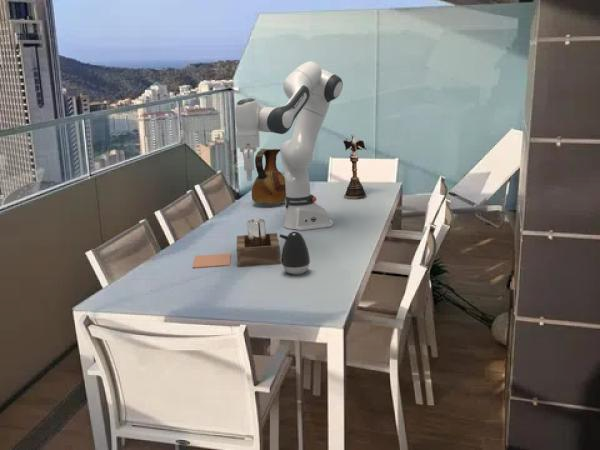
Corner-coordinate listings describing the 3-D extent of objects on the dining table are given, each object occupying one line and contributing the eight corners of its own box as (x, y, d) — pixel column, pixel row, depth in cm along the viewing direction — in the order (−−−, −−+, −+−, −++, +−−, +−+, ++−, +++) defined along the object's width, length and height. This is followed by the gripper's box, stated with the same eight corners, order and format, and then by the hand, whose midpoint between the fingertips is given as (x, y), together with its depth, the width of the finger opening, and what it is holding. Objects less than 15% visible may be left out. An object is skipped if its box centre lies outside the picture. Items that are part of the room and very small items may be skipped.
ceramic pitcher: (296, 201, 333) (293, 146, 325) (275, 210, 316) (271, 151, 309) (266, 198, 343) (263, 144, 335) (244, 206, 327) (240, 150, 319)
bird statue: (346, 192, 348) (344, 130, 339) (369, 193, 345) (367, 130, 335) (339, 199, 333) (337, 134, 324) (363, 199, 329) (361, 133, 320)
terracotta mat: (230, 254, 247) (230, 253, 247) (229, 265, 234) (229, 264, 234) (195, 257, 246) (195, 255, 246) (192, 268, 233) (192, 267, 233)
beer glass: (270, 255, 243) (267, 218, 239) (263, 261, 237) (260, 223, 233) (253, 254, 246) (251, 218, 242) (246, 260, 239) (244, 222, 235)
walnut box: (238, 252, 249) (236, 235, 248) (277, 249, 251) (276, 232, 249) (237, 266, 232) (236, 248, 230) (280, 263, 233) (279, 245, 231)
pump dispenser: (282, 268, 228) (280, 228, 224) (310, 267, 228) (308, 227, 224) (280, 277, 218) (278, 236, 214) (310, 276, 218) (308, 235, 214)
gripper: (256, 145, 225) (258, 183, 229) (255, 139, 245) (257, 173, 248) (239, 146, 225) (241, 183, 228) (239, 139, 245) (241, 174, 248)
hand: (249, 178), depth 239 cm, fingers open, 8 cm apart
